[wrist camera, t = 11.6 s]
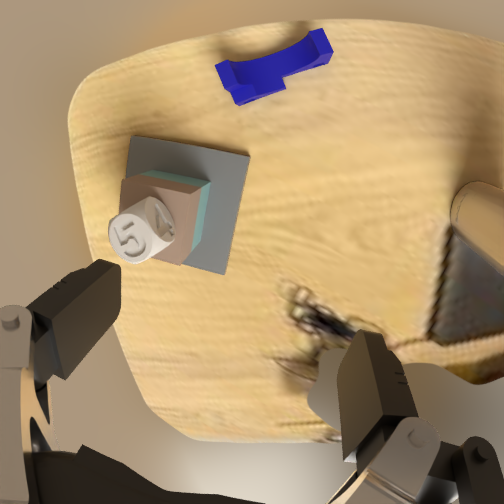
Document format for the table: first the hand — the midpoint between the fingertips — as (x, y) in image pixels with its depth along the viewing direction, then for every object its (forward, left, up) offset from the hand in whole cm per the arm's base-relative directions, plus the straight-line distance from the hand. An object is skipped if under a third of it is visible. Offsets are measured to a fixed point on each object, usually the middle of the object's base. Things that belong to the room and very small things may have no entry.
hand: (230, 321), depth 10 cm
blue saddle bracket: (+3, -13, -30) cm, 33 cm away
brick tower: (+12, +6, -30) cm, 33 cm away
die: (+12, +6, -21) cm, 25 cm away
